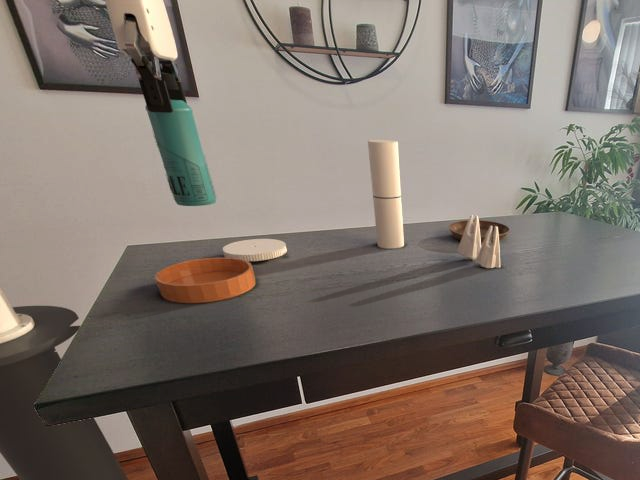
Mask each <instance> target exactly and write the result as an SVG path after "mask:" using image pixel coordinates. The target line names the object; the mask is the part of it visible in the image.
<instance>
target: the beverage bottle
mask: <svg viewBox="0 0 640 480" xmlns="http://www.w3.org/2000/svg"><path fill="white" fill-rule="evenodd" d="M160 73H161V80H162V81H165V83H166V87H167V89H175V90H179V88H178V85H177V82H176V79H175V77H174V75H172V74H168V73H162V72H160ZM170 101H171V104H172V108H173V112H172V113H163V112H150V111H149V110H148V108H147V105H146V104H145V110H146V113H147V115H148V119H149V122H150V125H151V128H152V131H151V132H152V133H153V138H154V140H155V141H154V142H155V143H156V147H157V150H158V152H159V154H160V158H161V160H162V164H163V168H164V171H165V176H166V180H167V183H168V187H169V189H170V193H171V194H172V195H171V196H172V197H173V200H174V201H175V204H176V205H178V206H182V207H203V206H210V205H214V204H216V203H217V196H216V190H215V188H214V185H213V180H212V176H211V174H210V172H209V165H208V161H207V157H206V156H205V154H204V151H203V147H202V143H201V140H200V136H199V135H200V134H199V132H198V129H197V125H196V121H195V117H194V114H193V108H192V107H191V106H190V105H189V104H188V103H187V104H186V103H185V102H184V101H182V100H170Z"/></svg>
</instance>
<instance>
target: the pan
mask: <svg viewBox="0 0 640 480" xmlns="http://www.w3.org/2000/svg"><path fill="white" fill-rule="evenodd" d="M154 281H155V284H156V286H157V289H158V291H159V293H160V296H161V297H162V298H163V299H165V300H167V301H169V302H173V303H174V302H175V303H178V304H179V303H181V304H201V303H211V302H219V301H223V300H227V299H231V298H234V297H237V296H240V295H242V294H245V293H247V292H248V291H250V290H252V289H253V288H254V287H255V285H256V283H257V282H256V277H255V272H254V269H253V265H252V263H251V262H250V261H245V260H242V259H236V258H225V257H205V258H196V259H191V260H186V261H182V262H176V263H174V264H171V265H168V266H166V267H164V268H161V269H159V270H158V271H157V272H156V273H155V274H154Z"/></svg>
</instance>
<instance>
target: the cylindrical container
mask: <svg viewBox="0 0 640 480" xmlns="http://www.w3.org/2000/svg"><path fill="white" fill-rule="evenodd" d="M367 148H368V157H369V170H370V179H371V180H370V181H371V189H372V199H373V201H372V202H373V211H374V222H375V232H376V234H375V235H376V242H377V243H376V244H377V247H378V248H381V249H385V250H386V249H387V250H393V249H400V248H403V247H404V246H405V239H404V238H405V237H404V223H403V221H404V220H403V206H402V205H403V204H402V190H401V189H402V188H401V177H400V176H401V172H400V158H399V157H400V156H399V155H400V154H399V142H398V140H393V139H370V140H367Z"/></svg>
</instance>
